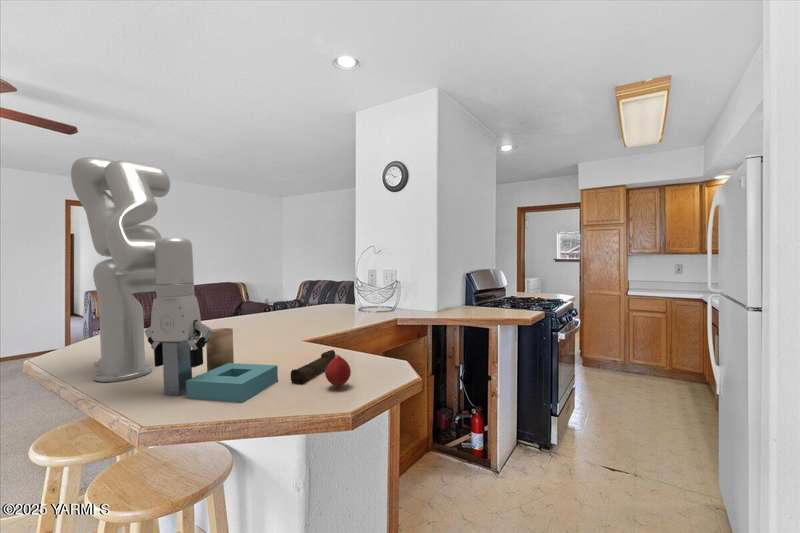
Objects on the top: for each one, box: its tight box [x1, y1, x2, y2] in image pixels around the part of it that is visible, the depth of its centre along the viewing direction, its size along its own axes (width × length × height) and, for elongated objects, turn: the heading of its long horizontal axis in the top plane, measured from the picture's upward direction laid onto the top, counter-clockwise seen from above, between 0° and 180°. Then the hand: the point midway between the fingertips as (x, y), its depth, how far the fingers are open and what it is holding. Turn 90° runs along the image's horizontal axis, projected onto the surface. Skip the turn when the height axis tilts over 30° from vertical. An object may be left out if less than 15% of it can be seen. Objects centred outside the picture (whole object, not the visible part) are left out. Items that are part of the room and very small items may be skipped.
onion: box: [324, 353, 352, 389], centre depth 87 cm, size 6×6×8 cm
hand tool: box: [290, 349, 336, 385], centre depth 99 cm, size 19×4×5 cm, turn 158°
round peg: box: [205, 327, 235, 372], centre depth 98 cm, size 6×6×12 cm
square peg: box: [162, 341, 193, 397], centre depth 86 cm, size 4×4×12 cm
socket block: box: [186, 362, 279, 403], centre depth 87 cm, size 14×14×4 cm
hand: (179, 365), depth 85 cm, fingers open, 9 cm apart
